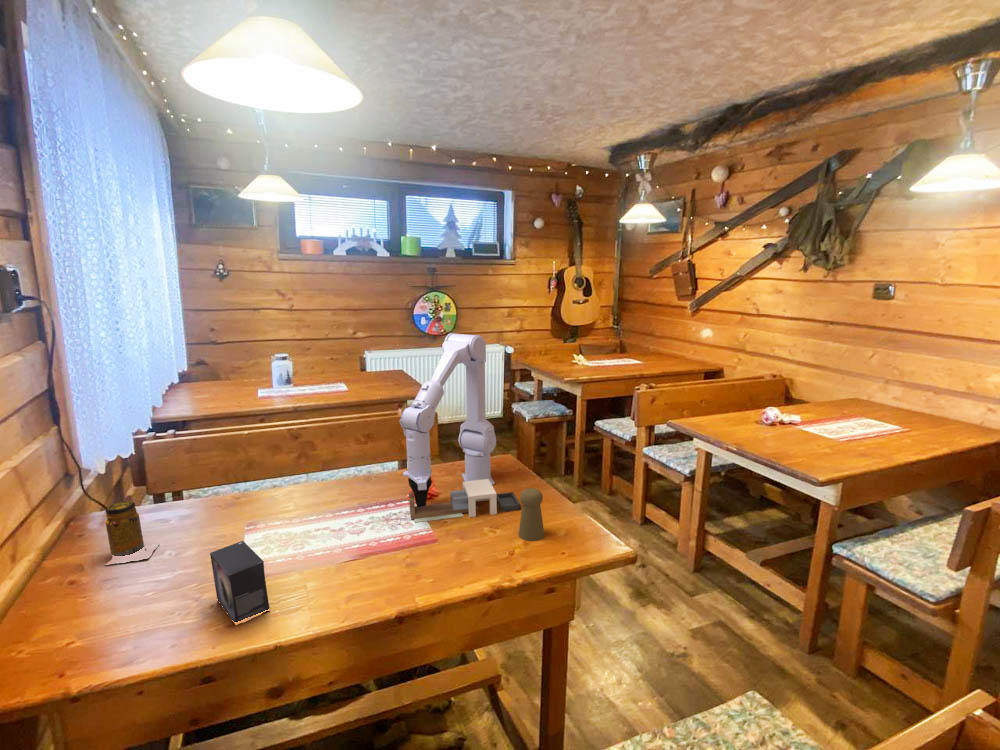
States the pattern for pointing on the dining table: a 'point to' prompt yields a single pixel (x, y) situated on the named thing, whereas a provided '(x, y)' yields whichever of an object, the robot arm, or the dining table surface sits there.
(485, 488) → the tunnel
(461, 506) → the brown t-shaped bar
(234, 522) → the dining table surface
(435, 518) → the mat
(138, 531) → the condiment
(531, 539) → the olive brown pawn
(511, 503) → the dark grey tray
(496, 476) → the dining table surface
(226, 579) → the small box
